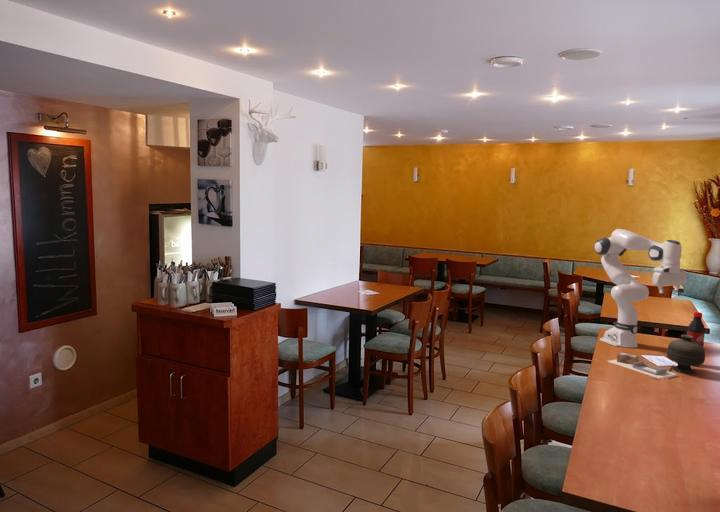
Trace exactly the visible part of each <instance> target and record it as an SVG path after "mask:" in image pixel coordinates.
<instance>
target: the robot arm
mask: <svg viewBox="0 0 720 512" xmlns="http://www.w3.org/2000/svg"><path fill="white" fill-rule="evenodd" d="M593 248H594V251H595V253H596V254H597V255H599V256H601V258H600V262H601V265H602V268H603V269H604V272H605V273H606V274H607V276H608V278H609V279H610V281H611V282H612V283H613V284H614V285H615V286H613V287H611V290H610V297H611V298H612V300H614V301H615V303H616V305H617V310H618V311H617V321H614V322H613V325H614V326H613V327H611V328H609V329H607V330H605V332H604V335H603V336H602V337H600V338H599V341H600V342H604V343H606V344H609V345H612V346H615V347H618V348H619V347H621V348H633V349H634V348H638V341H637V340H638V339H637V332H638V316H639V313H638V310H637V309H636V308H635V307H634V302H642V301H644V300H646V299H648V297H649V295H650V291H649V287H648V286H646V285H645V284H642V283H641V282H639V281H638V280H636V278H634V277H633V276H632V275H631V273H629V272H628V270H627V269H626V267H625V266H624V264H623V263H622V262H621V260H620V257H622V256H624V254H625V253H626V252H627V250H630V251H648V252H647V253H648V257H649V259H650V260H651V261H653V262H662V264H661V265H658V266H655V267H654V268H653V271H654V272H653V275H652V280H651V281H652V284H653V285H654V286H657V288H658V290H659V294H664V293H665V290H664V289H663V288H664V286H674V289H672V293H673V294H678V292H679V289H680V287H681V286H685V285H686V284H687V274H686V273H687V272H686V270H685V269H684V268H681V258H682V244H681V242H680V241H678V240H673V239H666V240H665V241H664V242H659V241H655V240H653V239H650V238H647V237H645V236H643V235H640V234H639V233H638V234H637V233H636V232H633V231H630V230H628V229H622V228H616V229H615V230H614V231H612V232H611V235H610V237H607V236H606V237H602V238H600V239H597V240H596V241H595V242H594V244H593Z"/></svg>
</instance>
